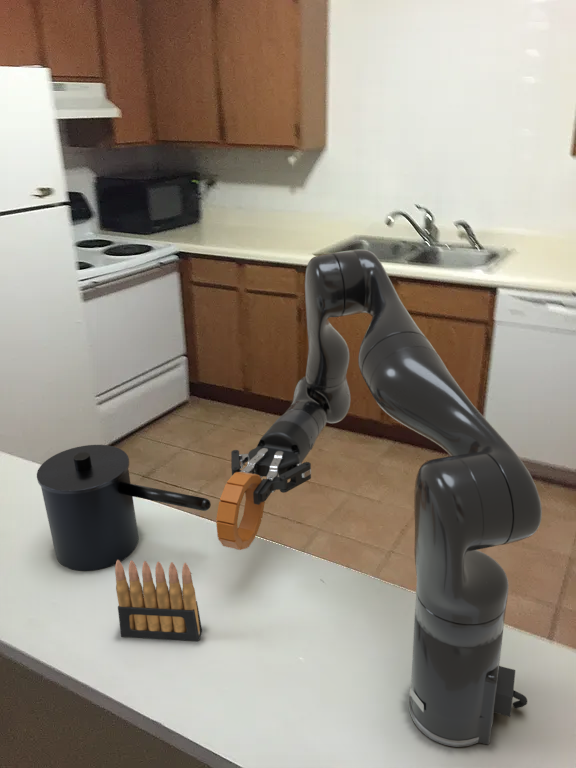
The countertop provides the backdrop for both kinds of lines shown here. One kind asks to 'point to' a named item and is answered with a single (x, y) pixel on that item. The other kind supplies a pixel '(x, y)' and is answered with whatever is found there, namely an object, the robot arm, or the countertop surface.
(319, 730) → the countertop surface
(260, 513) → the bracelet
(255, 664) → the countertop surface
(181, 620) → the ammunition clip
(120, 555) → the saucepan
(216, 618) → the countertop surface
